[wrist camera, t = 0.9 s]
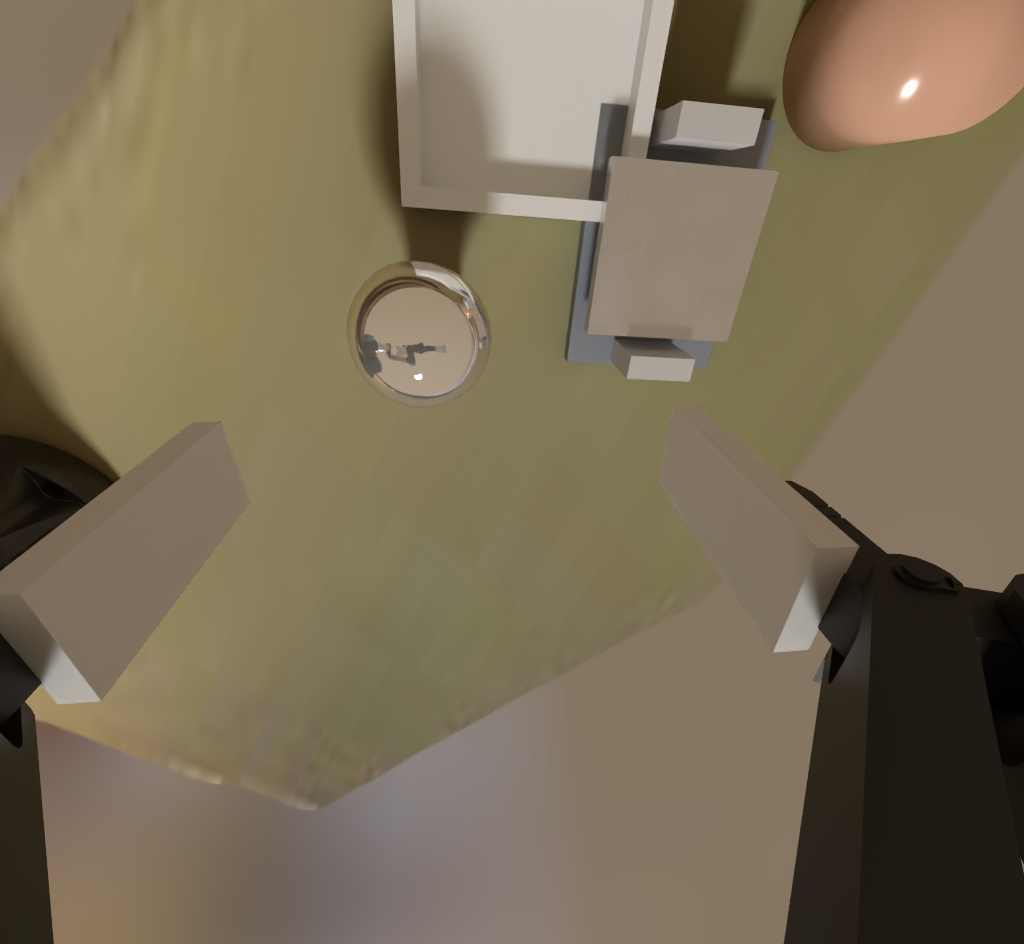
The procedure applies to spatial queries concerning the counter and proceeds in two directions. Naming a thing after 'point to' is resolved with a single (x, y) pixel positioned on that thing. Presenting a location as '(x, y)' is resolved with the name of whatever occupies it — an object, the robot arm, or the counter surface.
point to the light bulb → (419, 333)
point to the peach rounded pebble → (900, 69)
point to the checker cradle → (673, 137)
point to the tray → (522, 99)
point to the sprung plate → (674, 248)
